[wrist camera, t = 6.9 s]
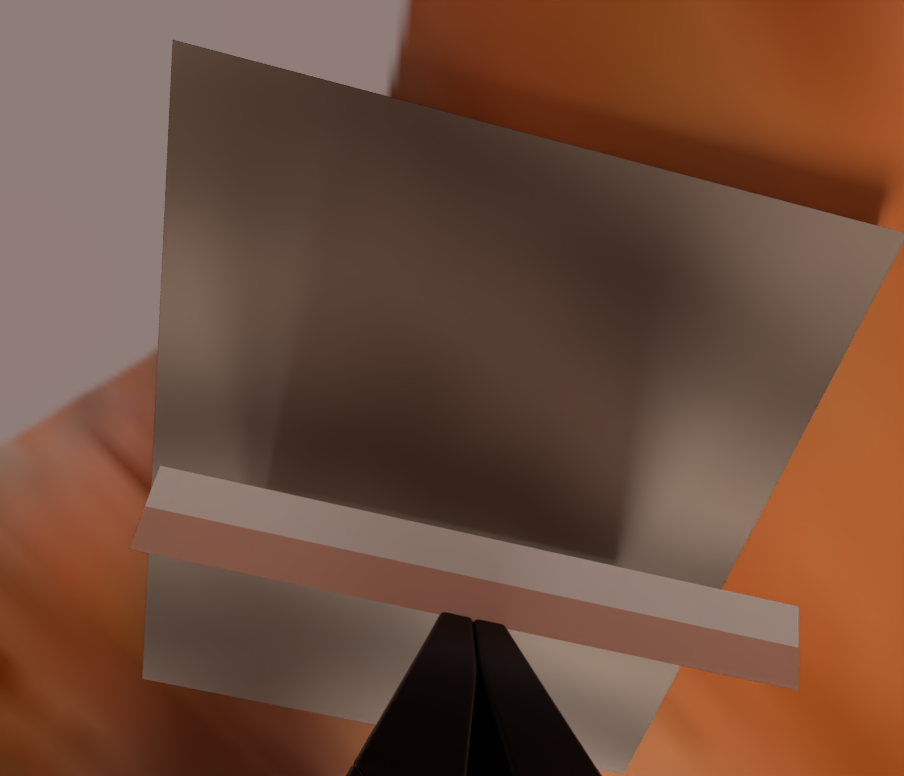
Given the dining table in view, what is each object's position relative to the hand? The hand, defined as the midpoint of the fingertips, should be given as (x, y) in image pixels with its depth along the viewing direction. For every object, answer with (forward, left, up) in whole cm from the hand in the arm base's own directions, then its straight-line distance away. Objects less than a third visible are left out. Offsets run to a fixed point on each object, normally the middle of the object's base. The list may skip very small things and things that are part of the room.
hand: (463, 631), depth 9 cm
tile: (-2, 0, -2) cm, 3 cm away
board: (-2, 0, -7) cm, 7 cm away
